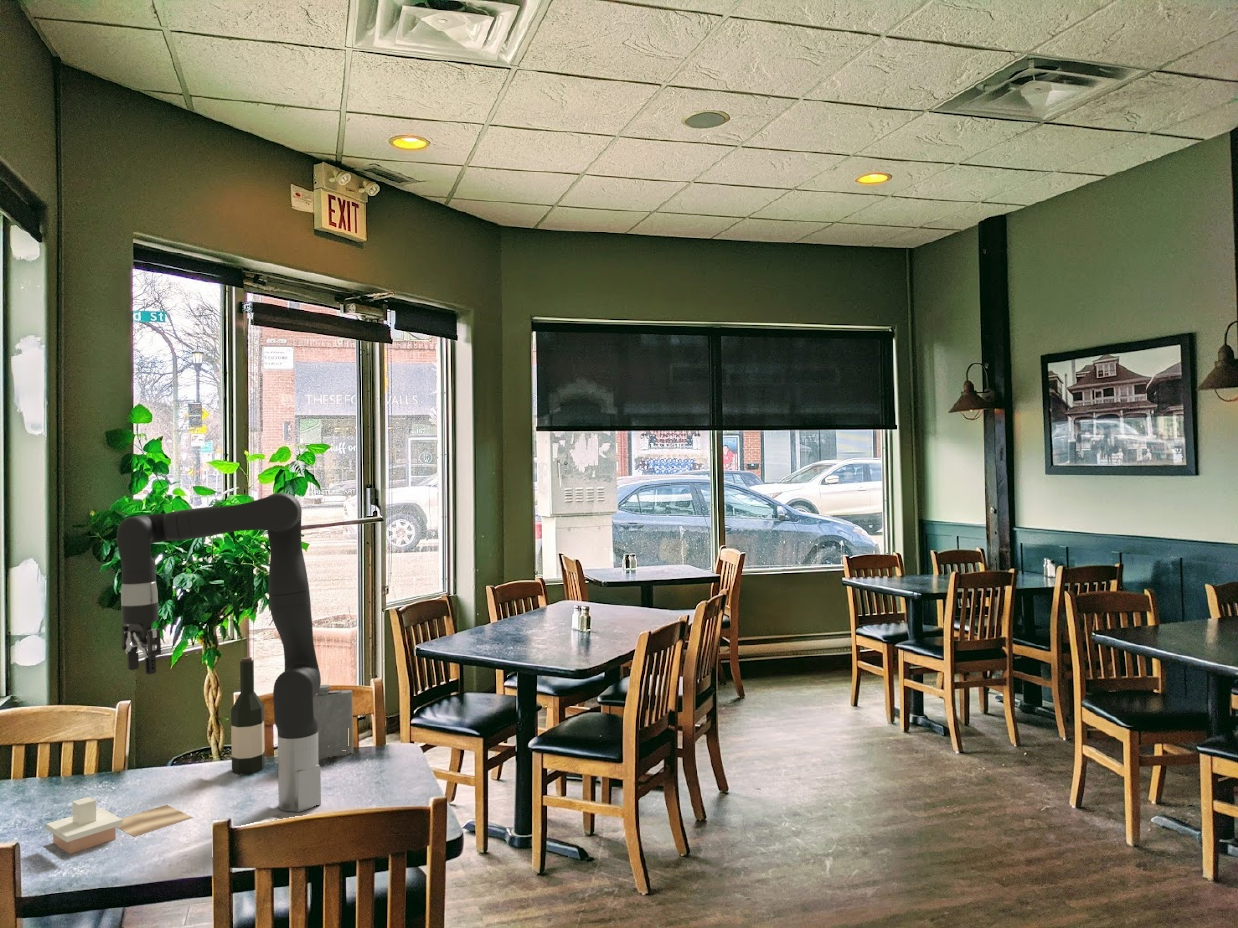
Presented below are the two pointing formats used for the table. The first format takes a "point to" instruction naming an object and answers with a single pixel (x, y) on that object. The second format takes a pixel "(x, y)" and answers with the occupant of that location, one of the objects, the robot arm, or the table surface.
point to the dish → (85, 841)
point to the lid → (83, 821)
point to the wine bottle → (247, 725)
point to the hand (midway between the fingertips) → (141, 671)
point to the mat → (152, 820)
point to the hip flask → (333, 721)
